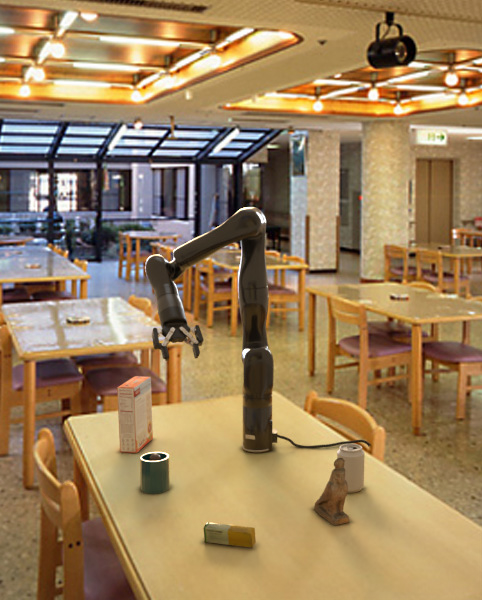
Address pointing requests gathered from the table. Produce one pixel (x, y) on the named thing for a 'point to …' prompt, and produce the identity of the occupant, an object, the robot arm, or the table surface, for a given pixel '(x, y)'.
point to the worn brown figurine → (334, 496)
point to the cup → (154, 473)
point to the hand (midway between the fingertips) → (182, 358)
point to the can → (353, 466)
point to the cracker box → (135, 414)
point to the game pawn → (155, 457)
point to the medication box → (229, 534)
